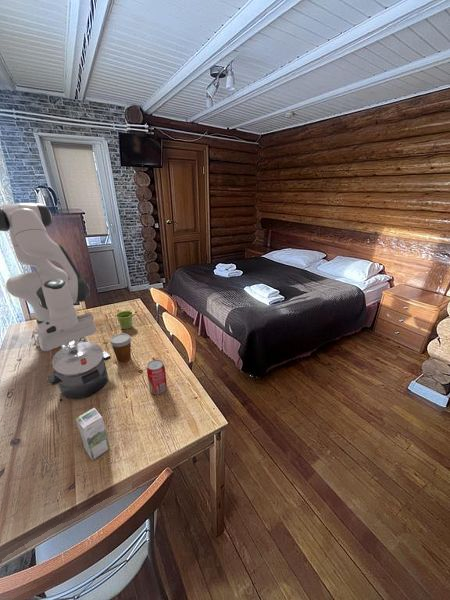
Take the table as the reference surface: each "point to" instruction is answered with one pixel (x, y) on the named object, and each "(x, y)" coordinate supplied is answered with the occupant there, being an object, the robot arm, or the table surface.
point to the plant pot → (125, 319)
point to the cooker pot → (82, 382)
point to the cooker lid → (77, 359)
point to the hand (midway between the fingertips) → (73, 349)
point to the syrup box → (93, 433)
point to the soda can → (156, 376)
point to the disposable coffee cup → (121, 347)
